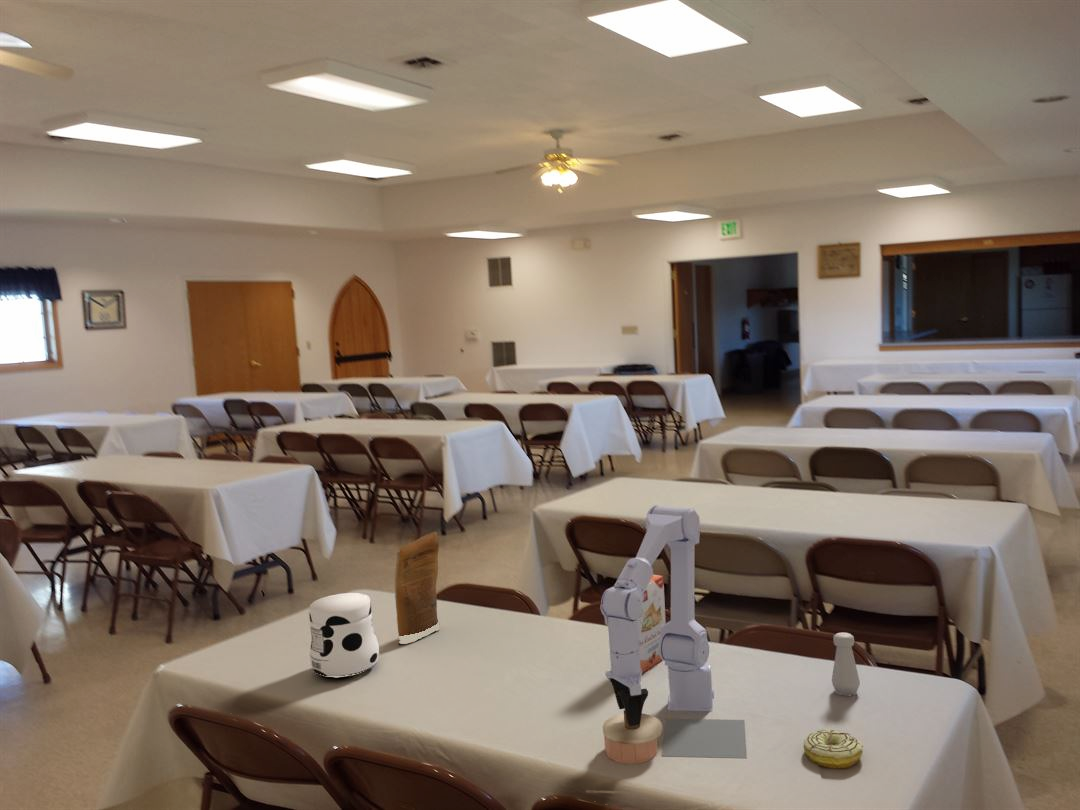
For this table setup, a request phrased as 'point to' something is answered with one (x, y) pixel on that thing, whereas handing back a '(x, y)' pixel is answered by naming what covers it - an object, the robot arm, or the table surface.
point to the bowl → (630, 751)
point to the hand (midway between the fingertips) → (629, 716)
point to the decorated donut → (833, 748)
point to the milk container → (342, 635)
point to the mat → (704, 738)
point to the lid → (632, 729)
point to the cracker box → (651, 622)
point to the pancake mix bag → (417, 585)
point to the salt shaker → (845, 665)
